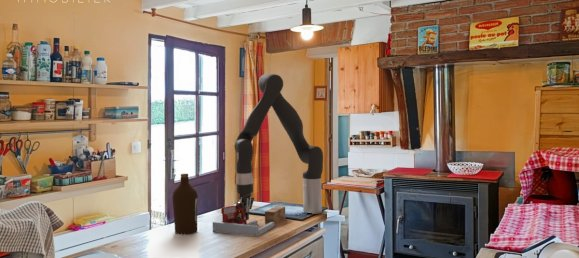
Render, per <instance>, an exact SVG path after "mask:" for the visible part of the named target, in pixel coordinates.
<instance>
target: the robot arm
mask: <svg viewBox="0 0 579 258" xmlns="http://www.w3.org/2000/svg"><path fill="white" fill-rule="evenodd" d="M283 86H284V80H283V78H282V77H281V76H280V75H279V74H275V73H266V74H262V75H261V76H260V77H259V80H258V87H259V90H260V91H261V93H262V95H261V98H260V100H259V102H257V104H256V105H255V107H254V108H253V109H252V110H251V112H250V113H249V115H248V117H247V119H246V121H245V124H244V126H243V128H242V130H241V131H240V133H239V135H238V136H237V138H236V140H235V142H234V145H233V146H234V150H235V152H237V154H238V155H237V156H238V157H237V161H236V180H235V181H236V182H235V183H236V193H237V194H238V202H236V203H235V204H239V205H240V207H241V208H243V210H244V212H245V215H246V222H247V221H248V220H249V219H250V213H249V212H250V210H252V208H253V205H254V201H255V197H253V196H252V194H253V193H254V175H253V164H252V163H253V162H252V161H253V157H254V145H253V143H252V142H253V140H254V139H255V137H256V136H258V134H259V132H260V130H261V127H262V125H263V123H264V120H265V119H266V116H267V114H268V113H269V111H270V109H271V108H272V109H273V111H274V113H275V115H276V116H277V118H278V120H279V122H280V124H281V125H282V127H283V129H284V131H285V132H286V134H287V136H288V137H289V139H290V141H291V143H292V145H293V146H294V149H295V152H296V153H297V156H298V158H299V159H300V161H301V162H302V163H303V164H306V165H308V166H307V169H306V170H305V171H303V173H302V203H303V204H302V206H303V207H302V208H303V209H302V210H303V211H304V212H308V213H312V214H311V215H316V214H317V215H318V214H321V213H323V212H322V210H323V208H322V207H323V206H322V205H323V204H322V201H323V200H322V174H323V171H324V168H323V167H324V152H323V150H322V148H321V147H320V146H315V145H310V144H309V142H308V141H307V140H306V138H305V136H304V125H303V124H304V123H303V120H302V118H301V117H300V115H299V113H298V111H297V110H296V109H295V108H294V107H293V106H292V105H291V104H290V102H288V101H287V100H286V98H285V97H284V96H283V95H282V90H283ZM303 211H302V212H303ZM304 212H303V213H304Z"/></svg>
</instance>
